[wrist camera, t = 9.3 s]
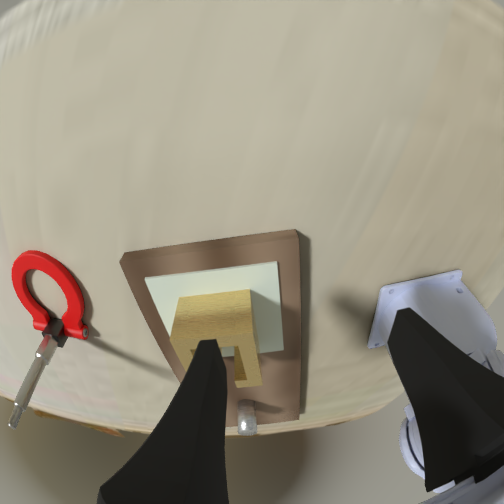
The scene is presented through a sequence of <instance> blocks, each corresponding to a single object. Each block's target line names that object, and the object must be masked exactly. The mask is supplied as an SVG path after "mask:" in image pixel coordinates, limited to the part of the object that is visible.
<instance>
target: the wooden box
mask: <svg viewBox="0 0 504 504" xmlns="http://www.w3.org/2000/svg"><path fill="white" fill-rule="evenodd" d="M210 339H217V342H218V346H219V349H220V352H221V354H222V347H229V346H234V373H235V384H236V387H237V388H242V387H252V386H262V385H263V381H262V370H261V358H260V347H259V340H258V334H257V329H256V323H255V317H254V311H253V305H252V299H251V293H250V289H246V290H238V291H230V292H221V293H213V294H204V295H194V296H185V297H179V299H178V303H177V308H176V312H175V317H174V321H173V326H172V330H171V335H170V342H171V344H172V346H173V348H174V350H175V352H176V354H177V356H178V358H179V360H180V362H181V364H182V366H183V367H184V369H185V371H186V372H187V370H188V367H189V365H190V363H191V361H192V358H193V356H194V353H195V351H196V348H197V345H198V343H199V341H200V340H210Z"/></svg>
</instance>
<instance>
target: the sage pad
mask: <svg viewBox="0 0 504 504" xmlns="http://www.w3.org/2000/svg"><path fill="white" fill-rule="evenodd" d="M145 282H146V284H147V287H148V289H149V291H150V294H151V296H152V299H153V301H154V303H155V305H156V308H157V310H158V312H159V315H160V317H161V319H162V321H163V323H164V325H165V328H166V330H167V332H168V334H169V336H170V335H171V330H172V326H173V321H174V317H175V312H176V308H177V303H178V299H179V297H185V296H194V295H204V294H213V293H221V292H230V291H238V290H246V289H250V293H251V299H252V305H253V311H254V317H255V323H256V329H257V334H258V340H259V347H260V353H266V352H274V351H281V350H284V346H283V331H282V318H281V305H280V292H279V280H278V268H277V261H274V262H267V263H259V264H251V265H243V266H236V267H228V268H220V269H212V270H203V271H195V272H187V273H179V274H170V275H162V276H153V277H145ZM227 356H234V346H229V347H222V357H227Z"/></svg>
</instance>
